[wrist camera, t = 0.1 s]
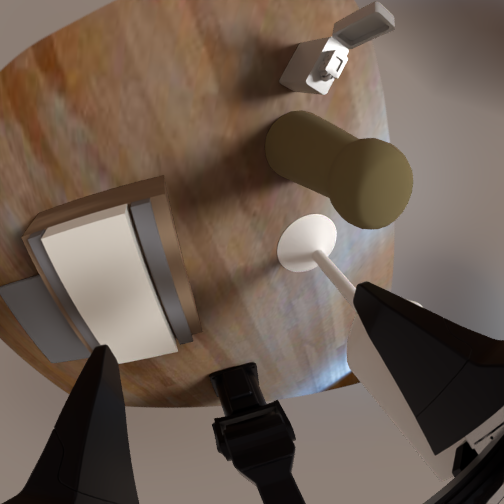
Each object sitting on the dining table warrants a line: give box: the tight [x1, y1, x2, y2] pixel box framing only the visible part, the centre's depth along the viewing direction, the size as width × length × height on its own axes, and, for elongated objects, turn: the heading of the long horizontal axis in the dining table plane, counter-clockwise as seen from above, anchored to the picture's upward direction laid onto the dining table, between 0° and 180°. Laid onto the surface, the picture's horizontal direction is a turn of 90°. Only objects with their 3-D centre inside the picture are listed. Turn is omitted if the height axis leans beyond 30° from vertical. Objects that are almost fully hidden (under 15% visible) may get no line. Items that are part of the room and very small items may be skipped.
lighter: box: [279, 1, 395, 95], centre depth 14 cm, size 7×2×8 cm, turn 153°
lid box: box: [21, 175, 202, 353], centre depth 20 cm, size 13×11×5 cm
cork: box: [265, 111, 413, 229], centre depth 17 cm, size 6×6×11 cm
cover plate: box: [41, 204, 178, 364], centre depth 19 cm, size 13×6×2 cm, turn 4°
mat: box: [0, 274, 91, 363], centre depth 23 cm, size 12×8×1 cm, turn 4°
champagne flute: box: [277, 214, 466, 481], centre depth 18 cm, size 7×7×24 cm
